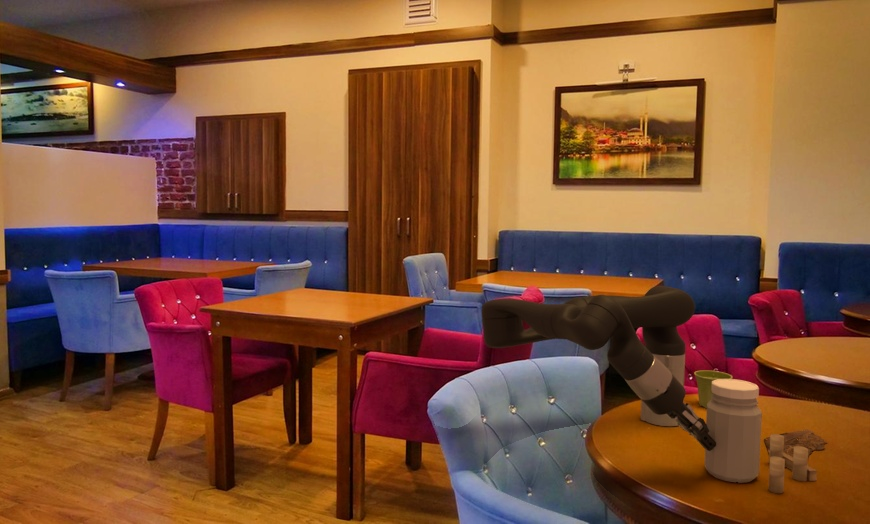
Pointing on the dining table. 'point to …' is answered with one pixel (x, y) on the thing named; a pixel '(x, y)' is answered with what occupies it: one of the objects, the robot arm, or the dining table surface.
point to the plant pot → (707, 384)
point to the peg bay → (787, 464)
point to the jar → (734, 430)
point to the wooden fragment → (799, 441)
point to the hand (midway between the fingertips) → (711, 446)
